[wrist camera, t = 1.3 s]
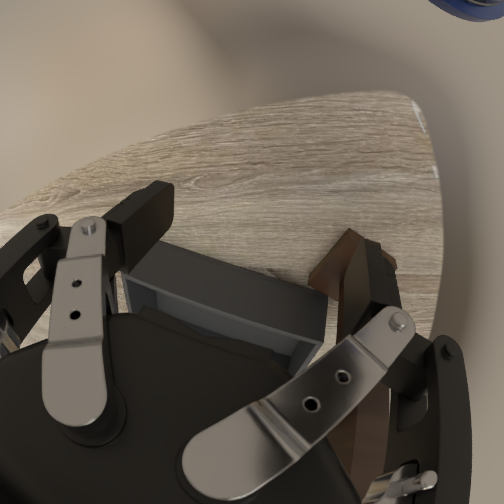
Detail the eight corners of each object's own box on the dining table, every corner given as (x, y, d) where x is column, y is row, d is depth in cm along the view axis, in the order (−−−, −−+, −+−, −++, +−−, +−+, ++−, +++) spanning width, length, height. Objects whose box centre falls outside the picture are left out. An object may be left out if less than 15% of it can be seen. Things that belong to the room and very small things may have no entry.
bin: (151, 237, 32) (120, 272, 27) (328, 294, 30) (323, 342, 25) (156, 308, 40) (135, 341, 35) (293, 356, 38) (285, 395, 33)
